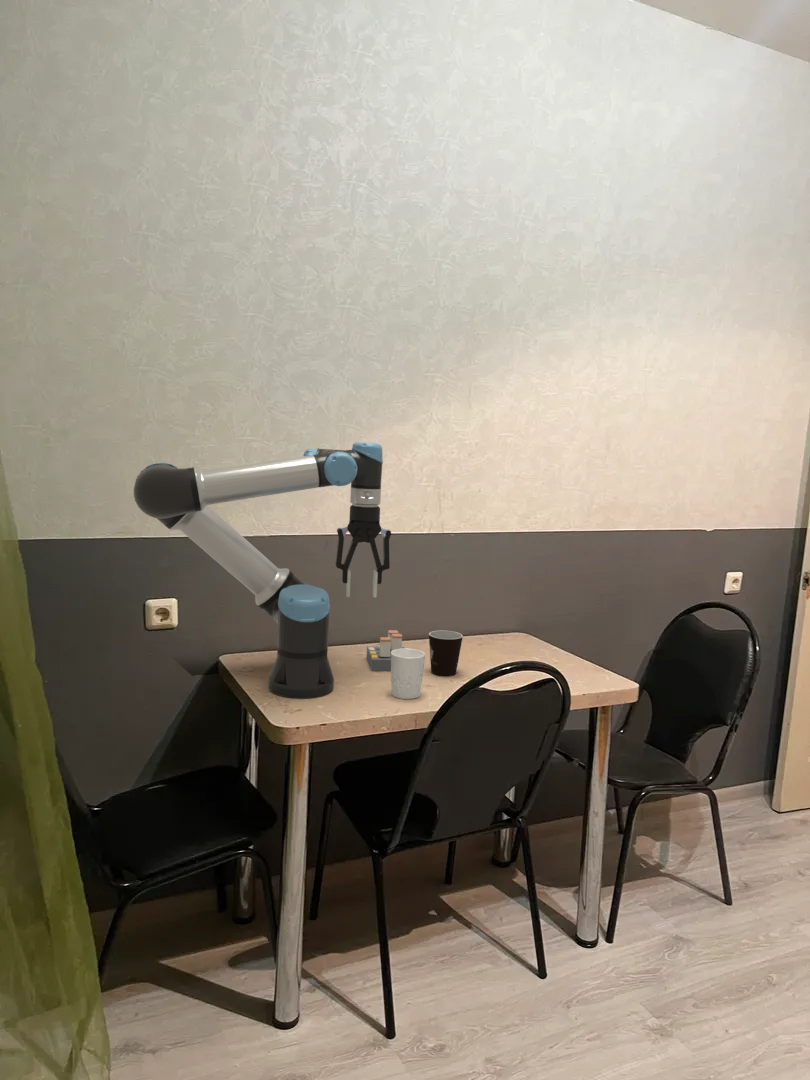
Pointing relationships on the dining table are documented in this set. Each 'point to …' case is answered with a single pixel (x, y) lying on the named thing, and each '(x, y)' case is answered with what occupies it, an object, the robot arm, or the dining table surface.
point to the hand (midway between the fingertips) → (361, 595)
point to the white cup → (406, 673)
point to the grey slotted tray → (378, 660)
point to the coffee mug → (444, 652)
